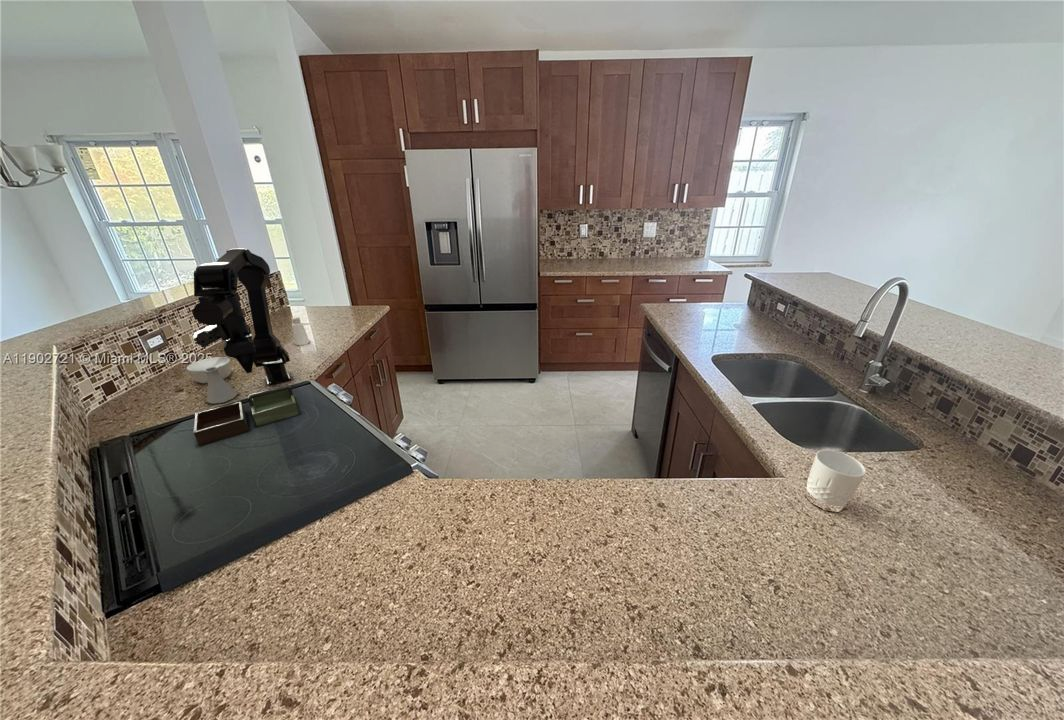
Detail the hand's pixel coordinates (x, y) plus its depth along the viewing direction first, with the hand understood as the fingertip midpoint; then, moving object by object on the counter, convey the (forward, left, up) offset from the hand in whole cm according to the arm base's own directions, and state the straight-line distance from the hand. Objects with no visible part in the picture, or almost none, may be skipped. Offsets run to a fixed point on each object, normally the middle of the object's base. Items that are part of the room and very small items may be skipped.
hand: (248, 366), depth 103 cm
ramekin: (-32, -11, -13) cm, 36 cm away
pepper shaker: (-49, +18, -13) cm, 54 cm away
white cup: (+115, +88, -13) cm, 145 cm away
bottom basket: (+7, -9, -13) cm, 17 cm away
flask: (-13, -9, -13) cm, 21 cm away
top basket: (+6, +3, -13) cm, 15 cm away
